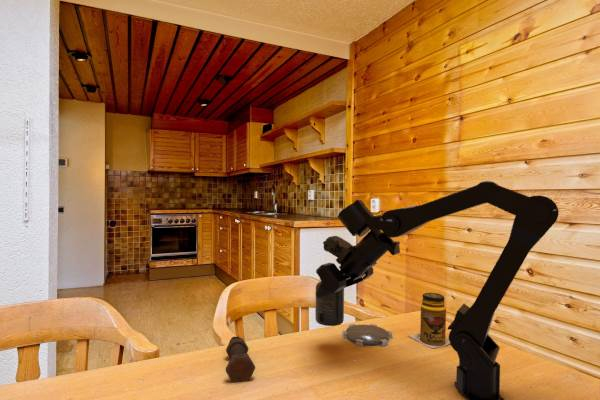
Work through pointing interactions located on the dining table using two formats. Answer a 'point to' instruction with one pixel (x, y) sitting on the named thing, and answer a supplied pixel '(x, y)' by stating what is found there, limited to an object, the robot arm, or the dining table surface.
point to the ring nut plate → (367, 335)
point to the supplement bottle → (330, 308)
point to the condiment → (432, 321)
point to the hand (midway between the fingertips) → (324, 293)
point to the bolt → (239, 361)
